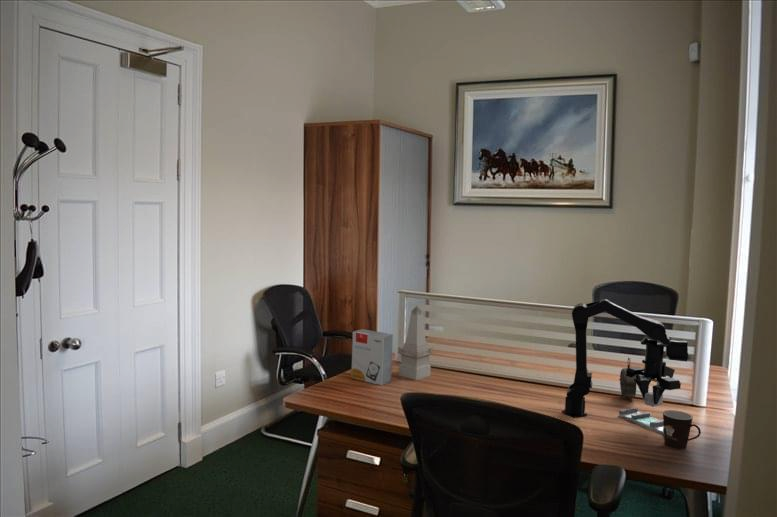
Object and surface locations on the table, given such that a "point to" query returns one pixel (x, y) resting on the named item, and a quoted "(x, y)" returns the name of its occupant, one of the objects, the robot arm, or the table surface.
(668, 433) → the coffee mug
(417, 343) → the miniature monument
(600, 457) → the table surface
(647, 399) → the usb wall charger
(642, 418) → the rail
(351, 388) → the table surface
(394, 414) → the table surface
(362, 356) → the hard drive box
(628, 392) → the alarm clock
